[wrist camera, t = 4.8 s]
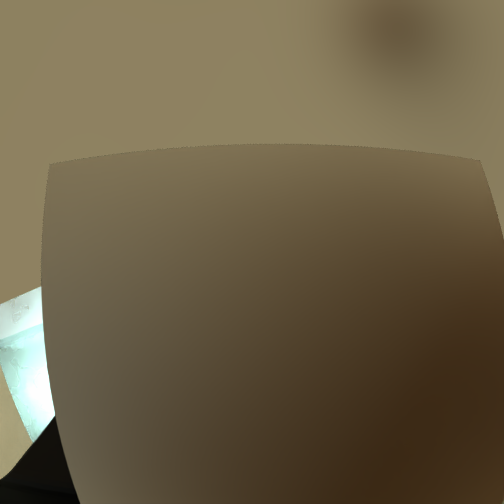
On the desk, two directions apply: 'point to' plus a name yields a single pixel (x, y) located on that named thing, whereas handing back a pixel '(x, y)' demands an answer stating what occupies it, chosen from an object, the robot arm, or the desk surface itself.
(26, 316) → the frosted green glass slab
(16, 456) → the desk surface
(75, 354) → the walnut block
